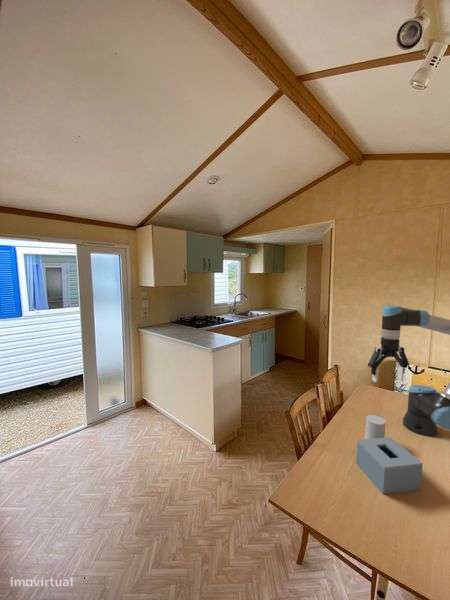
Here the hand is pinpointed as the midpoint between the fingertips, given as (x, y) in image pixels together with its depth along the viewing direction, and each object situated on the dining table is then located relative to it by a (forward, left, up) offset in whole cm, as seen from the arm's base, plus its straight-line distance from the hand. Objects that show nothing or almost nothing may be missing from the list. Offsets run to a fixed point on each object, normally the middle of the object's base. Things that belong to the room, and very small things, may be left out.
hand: (387, 380), depth 125 cm
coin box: (+15, +20, -32) cm, 40 cm away
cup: (+5, 0, -32) cm, 32 cm away
